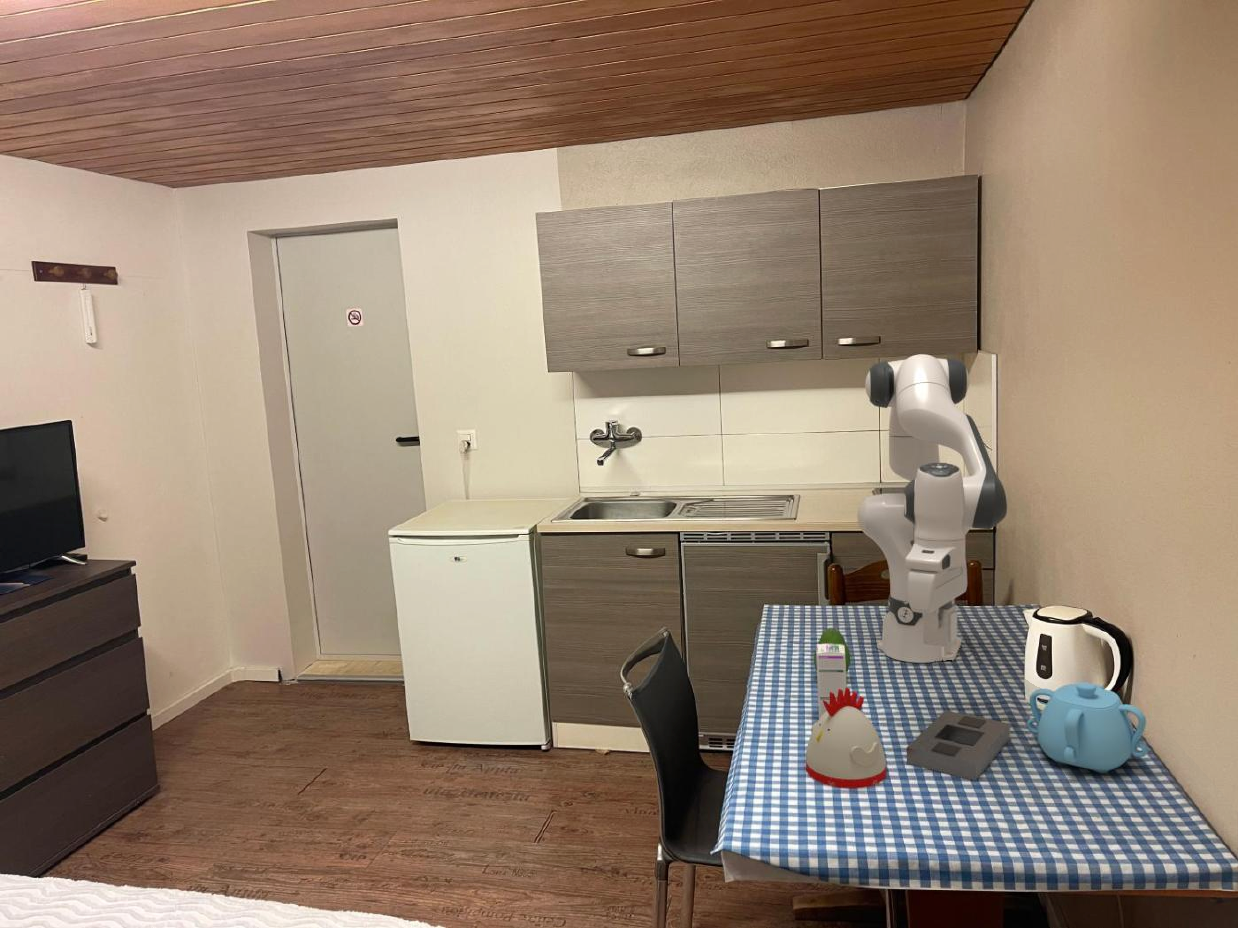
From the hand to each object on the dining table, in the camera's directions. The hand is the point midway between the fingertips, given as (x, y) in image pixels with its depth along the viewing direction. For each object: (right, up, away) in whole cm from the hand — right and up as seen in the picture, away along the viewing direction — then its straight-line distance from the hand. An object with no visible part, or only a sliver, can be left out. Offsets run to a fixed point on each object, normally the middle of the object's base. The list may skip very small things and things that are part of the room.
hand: (939, 626), depth 167 cm
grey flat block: (+3, -23, -2) cm, 23 cm away
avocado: (-11, -19, +36) cm, 43 cm away
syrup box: (-16, -22, +16) cm, 31 cm away
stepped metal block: (0, -3, 0) cm, 3 cm away
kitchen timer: (-19, -25, -7) cm, 32 cm away
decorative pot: (+23, -22, -6) cm, 33 cm away
